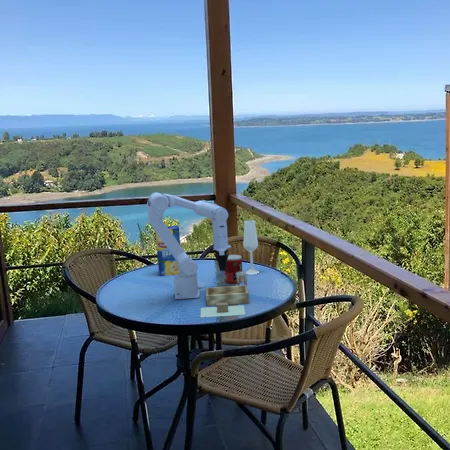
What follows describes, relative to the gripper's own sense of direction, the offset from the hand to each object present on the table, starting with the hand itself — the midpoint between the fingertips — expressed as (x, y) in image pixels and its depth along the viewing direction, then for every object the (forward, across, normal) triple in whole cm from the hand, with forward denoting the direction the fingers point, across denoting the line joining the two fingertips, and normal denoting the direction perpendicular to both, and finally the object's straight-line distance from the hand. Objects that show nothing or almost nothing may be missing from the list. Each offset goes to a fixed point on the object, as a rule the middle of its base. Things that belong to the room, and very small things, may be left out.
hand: (222, 268), depth 209 cm
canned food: (+10, +12, -5) cm, 16 cm away
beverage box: (+10, +32, +24) cm, 41 cm away
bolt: (+4, -3, -7) cm, 9 cm away
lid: (+10, -25, +1) cm, 27 cm away
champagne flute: (+10, +24, -14) cm, 29 cm away
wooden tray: (+9, -13, -1) cm, 16 cm away
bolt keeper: (+9, -3, -8) cm, 12 cm away
